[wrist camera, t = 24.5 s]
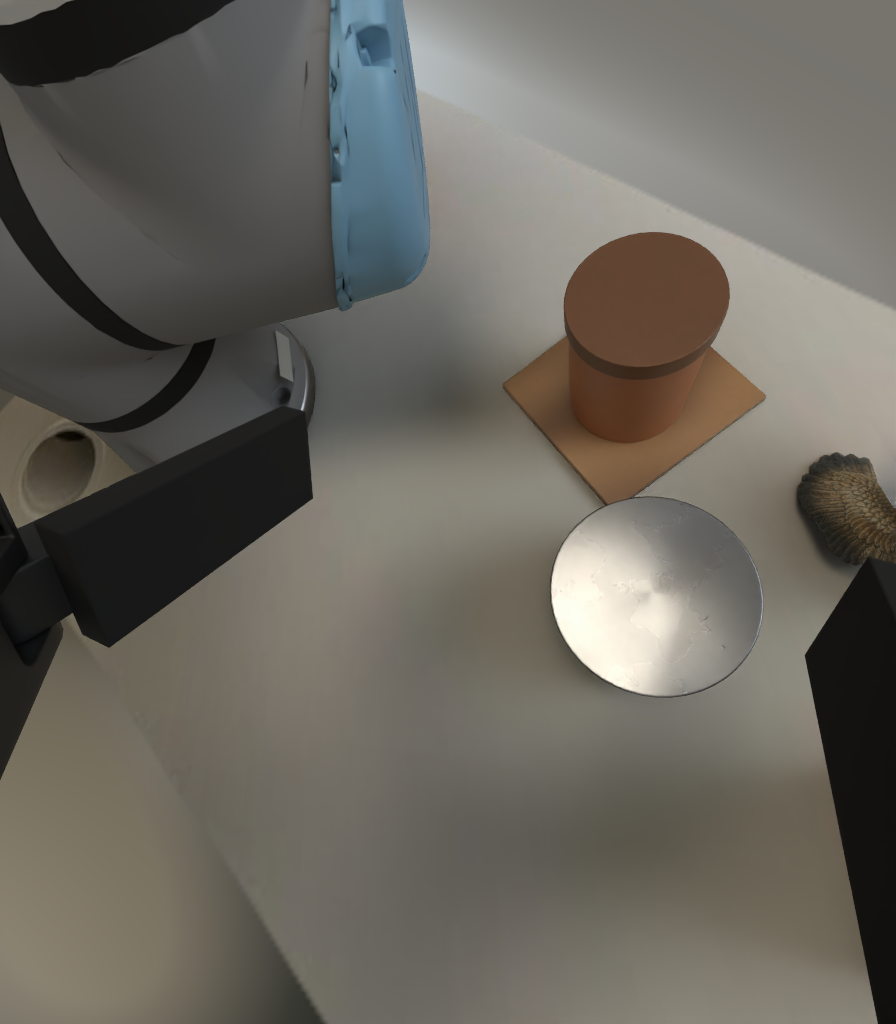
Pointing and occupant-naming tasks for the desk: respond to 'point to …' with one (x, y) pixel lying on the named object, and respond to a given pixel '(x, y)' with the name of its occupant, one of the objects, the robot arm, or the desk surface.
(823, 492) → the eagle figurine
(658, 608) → the green tin
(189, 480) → the robot arm
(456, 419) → the desk surface
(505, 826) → the desk surface
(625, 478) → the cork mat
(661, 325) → the copper tin
